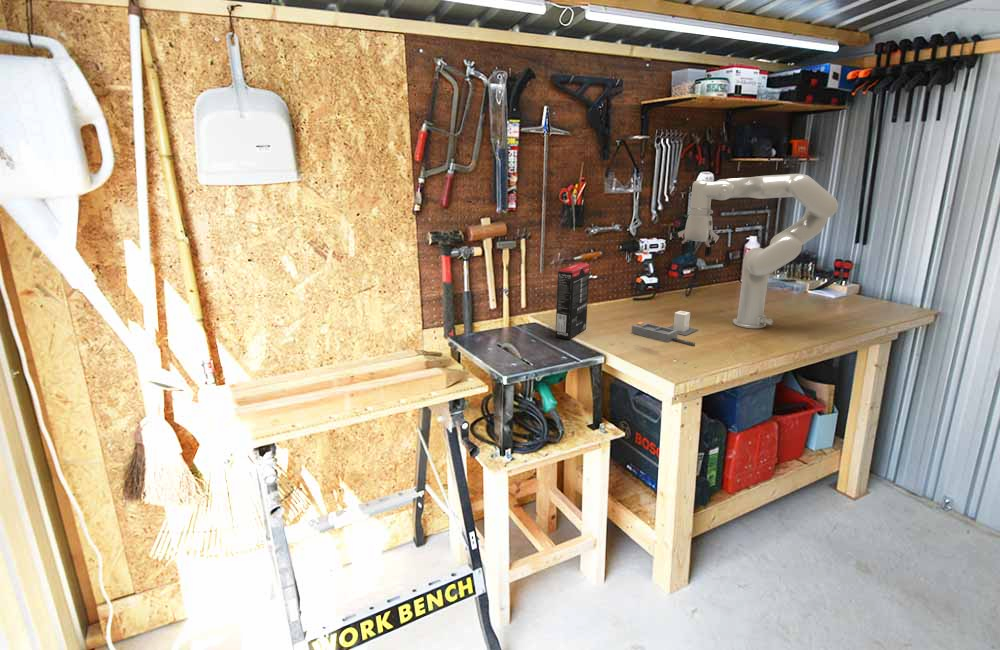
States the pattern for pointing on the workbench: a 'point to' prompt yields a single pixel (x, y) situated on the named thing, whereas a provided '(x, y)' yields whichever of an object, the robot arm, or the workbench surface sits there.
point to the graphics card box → (572, 300)
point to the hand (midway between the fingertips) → (696, 254)
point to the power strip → (658, 333)
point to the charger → (681, 321)
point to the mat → (685, 331)
